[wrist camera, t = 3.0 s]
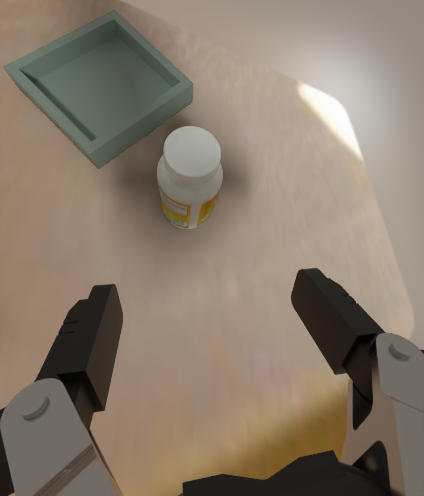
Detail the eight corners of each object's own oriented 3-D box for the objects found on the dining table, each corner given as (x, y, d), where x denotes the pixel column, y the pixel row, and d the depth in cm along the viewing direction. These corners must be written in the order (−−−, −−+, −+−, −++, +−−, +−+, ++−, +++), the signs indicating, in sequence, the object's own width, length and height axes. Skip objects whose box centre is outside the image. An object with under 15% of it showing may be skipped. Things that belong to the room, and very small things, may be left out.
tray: (98, 168, 24) (89, 154, 22) (19, 89, 25) (2, 66, 23) (192, 102, 28) (193, 83, 26) (120, 34, 29) (114, 10, 26)
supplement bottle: (166, 233, 24) (157, 190, 15) (158, 187, 25) (146, 119, 16) (216, 226, 25) (238, 181, 15) (207, 181, 26) (222, 114, 17)
